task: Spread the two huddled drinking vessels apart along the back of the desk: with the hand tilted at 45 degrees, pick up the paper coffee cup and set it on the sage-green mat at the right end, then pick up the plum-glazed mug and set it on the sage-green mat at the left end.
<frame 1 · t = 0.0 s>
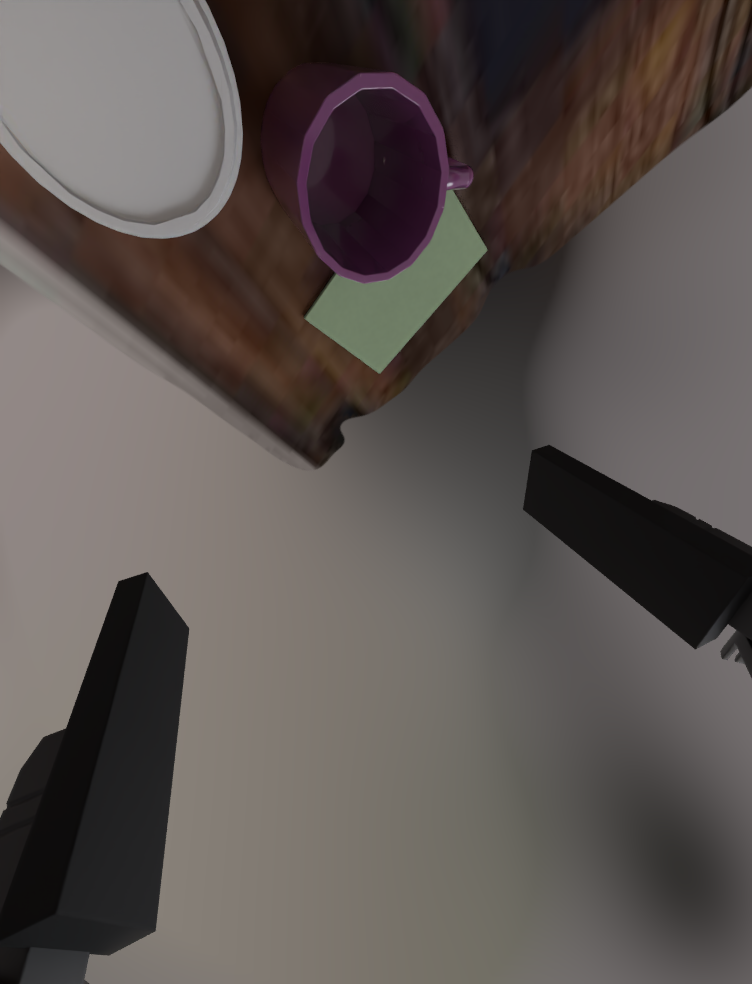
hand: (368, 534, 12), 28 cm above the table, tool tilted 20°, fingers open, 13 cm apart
disposable coffee cup: (126, 75, 20), on the table
mug mat: (396, 282, 34), on the table
plum mug: (322, 156, 25), on the table
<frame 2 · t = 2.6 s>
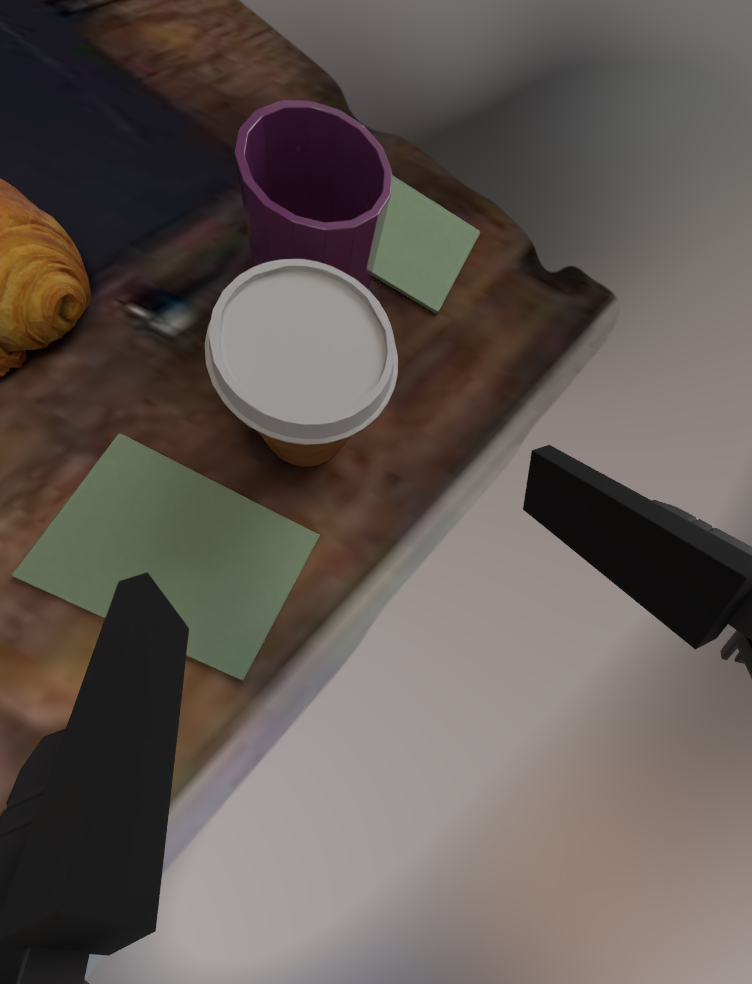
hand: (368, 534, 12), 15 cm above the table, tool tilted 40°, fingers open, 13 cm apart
cup mat: (181, 553, 24), on the table
disposable coffee cup: (305, 429, 28), on the table
mug mat: (386, 228, 33), on the table
plum mug: (312, 301, 30), on the table
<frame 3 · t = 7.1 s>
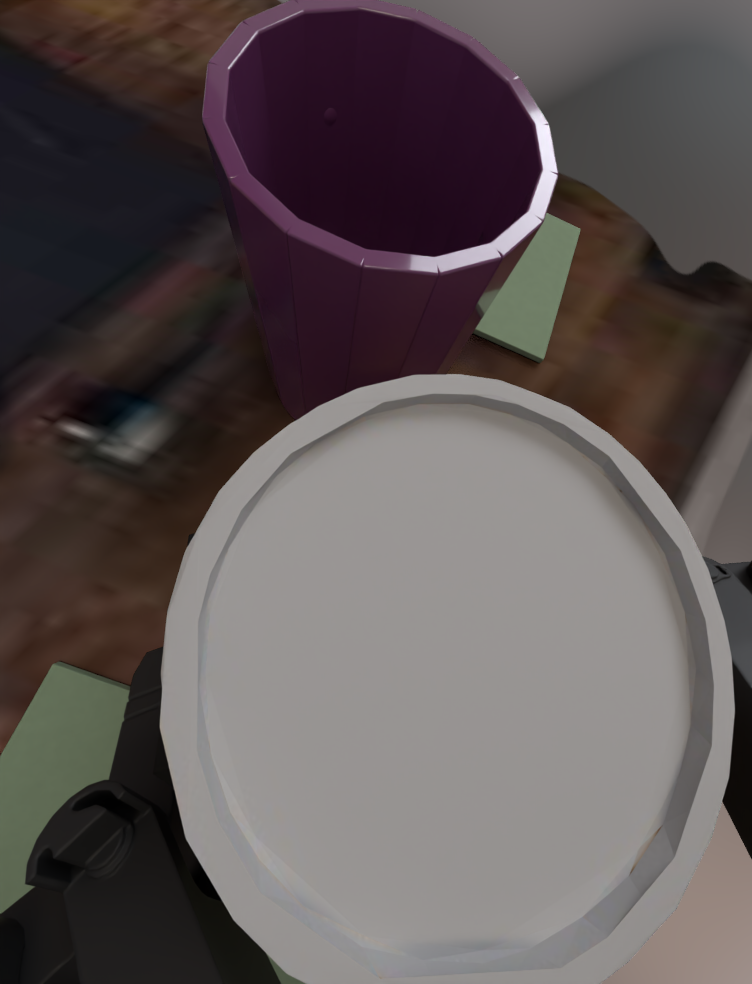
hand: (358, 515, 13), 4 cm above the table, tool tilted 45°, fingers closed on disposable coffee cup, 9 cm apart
cup mat: (180, 881, 13), on the table
disposable coffee cup: (369, 590, 17), on the table, touching gripper
mug mat: (446, 242, 22), on the table
plum mug: (353, 371, 19), on the table
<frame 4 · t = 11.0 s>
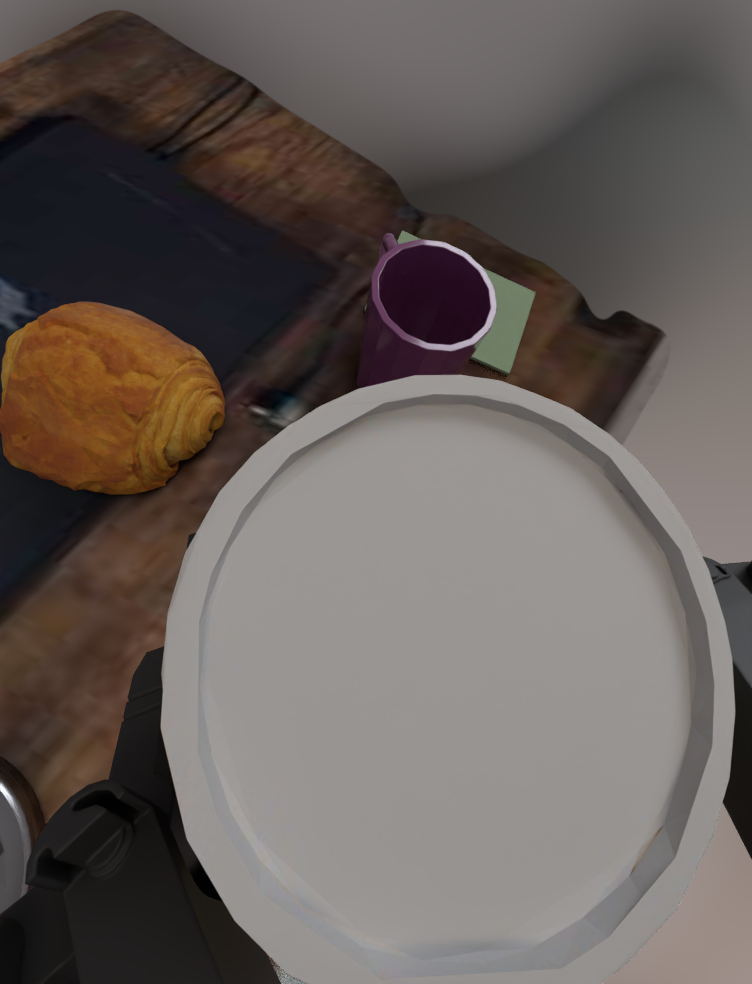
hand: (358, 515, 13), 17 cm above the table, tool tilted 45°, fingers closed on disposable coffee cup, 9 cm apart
croissant: (128, 416, 29), on the table
disposable coffee cup: (369, 590, 17), point 13 cm above the table, touching gripper
mug mat: (453, 302, 37), on the table
plum mug: (400, 380, 34), on the table
when the fingers open (5 cm above the table, at t = 15.3 s): disposable coffee cup stays where it is, resting on cup mat.
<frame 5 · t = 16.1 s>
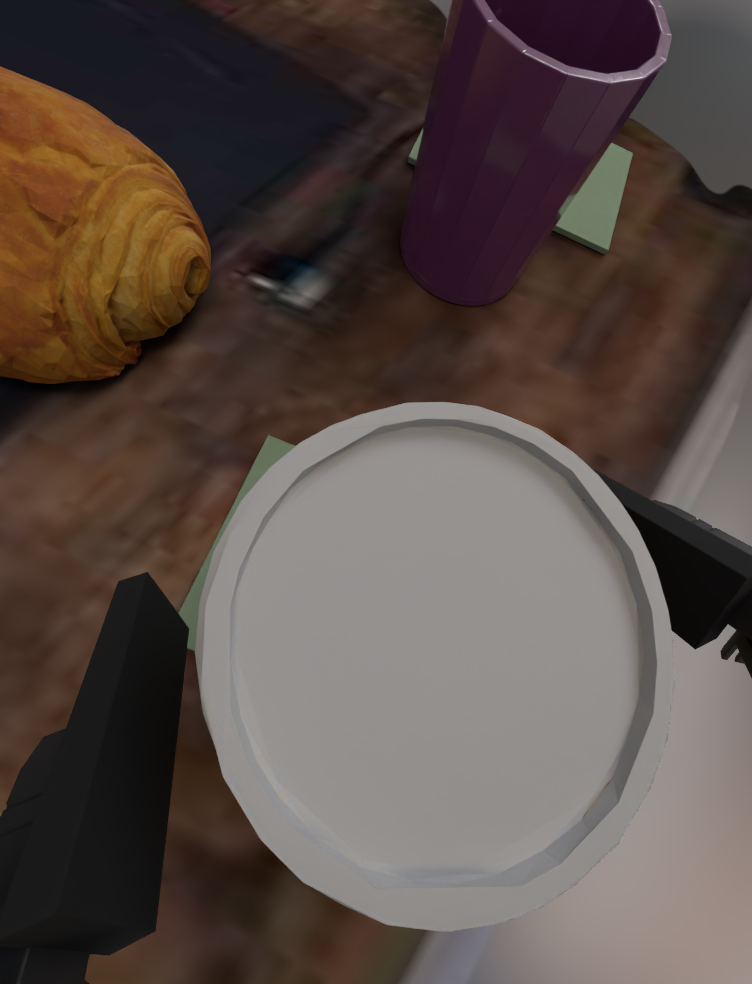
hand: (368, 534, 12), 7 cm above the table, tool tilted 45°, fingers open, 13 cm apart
cup mat: (367, 586, 18), on the table
croissant: (66, 280, 19), on the table
disposable coffee cup: (370, 589, 18), resting on cup mat
mug mat: (525, 160, 27), on the table
plum mug: (460, 252, 24), on the table
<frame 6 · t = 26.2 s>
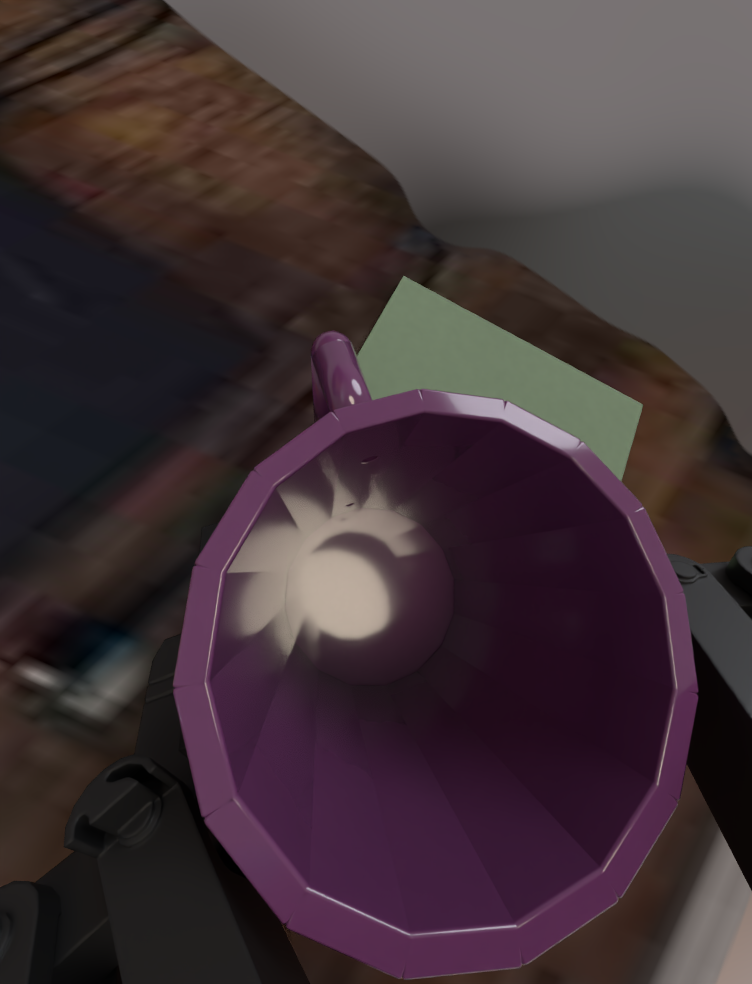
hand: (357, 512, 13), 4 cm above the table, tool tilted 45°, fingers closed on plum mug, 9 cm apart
mug mat: (489, 420, 19), on the table
plum mug: (371, 591, 16), on the table, touching gripper
when the fingers open (4 cm above the table, at t = 33.6 s): plum mug stays where it is, resting on mug mat.
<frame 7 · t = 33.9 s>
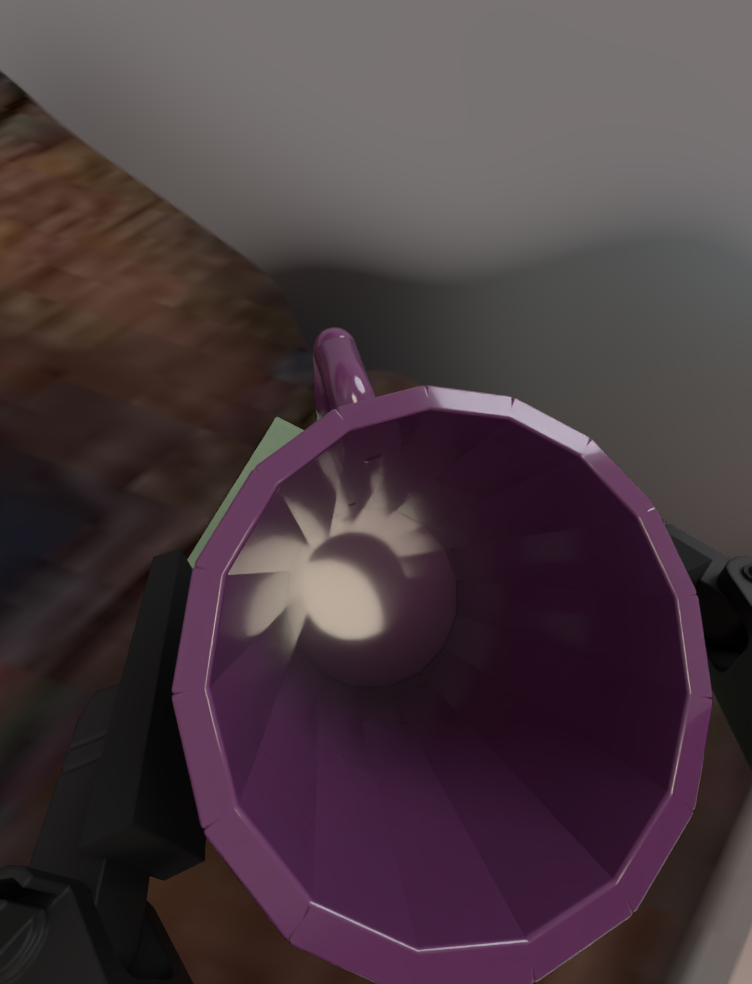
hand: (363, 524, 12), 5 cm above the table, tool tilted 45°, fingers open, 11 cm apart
mug mat: (370, 591, 16), on the table
plum mug: (373, 592, 16), resting on mug mat
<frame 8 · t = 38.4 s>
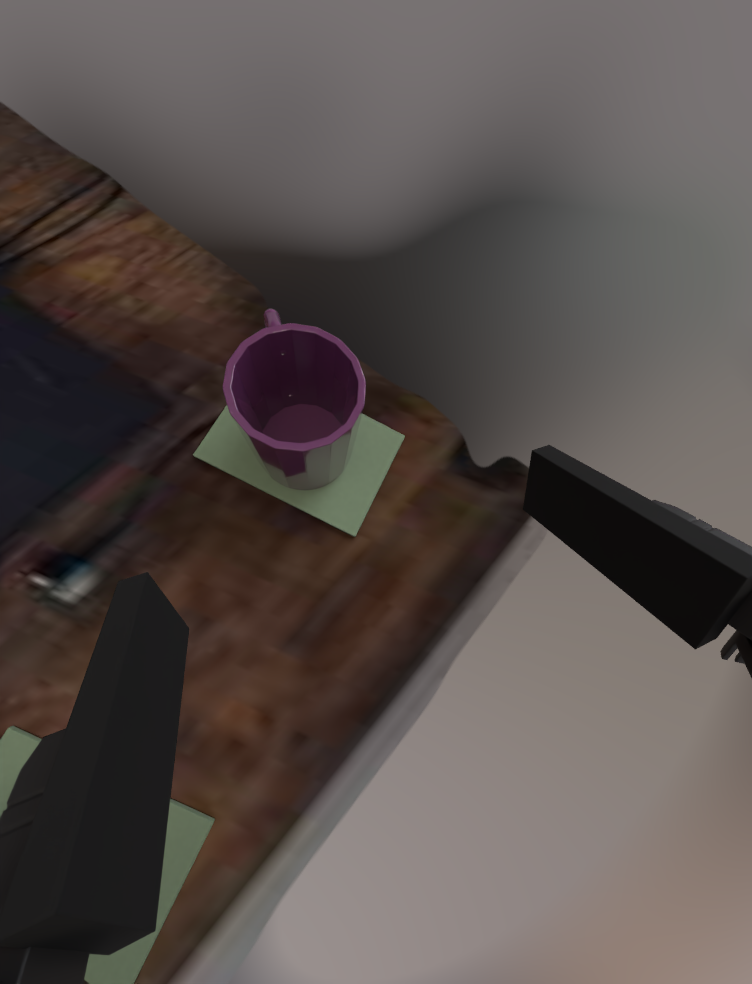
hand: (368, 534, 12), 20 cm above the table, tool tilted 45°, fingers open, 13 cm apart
cup mat: (65, 858, 24), on the table
mug mat: (304, 446, 33), on the table
plum mug: (305, 445, 32), resting on mug mat
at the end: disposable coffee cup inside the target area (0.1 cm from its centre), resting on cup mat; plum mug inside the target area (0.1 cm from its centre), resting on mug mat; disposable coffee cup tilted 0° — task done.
